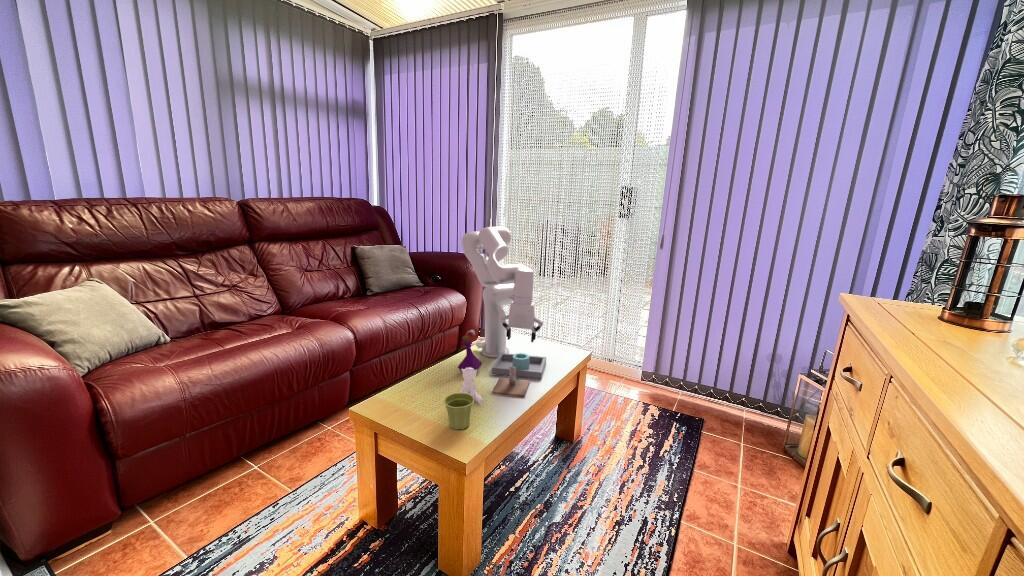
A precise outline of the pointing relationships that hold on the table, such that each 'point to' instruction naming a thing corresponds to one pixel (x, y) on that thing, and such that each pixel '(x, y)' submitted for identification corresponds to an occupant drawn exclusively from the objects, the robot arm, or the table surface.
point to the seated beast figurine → (470, 384)
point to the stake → (511, 385)
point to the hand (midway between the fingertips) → (520, 339)
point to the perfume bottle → (469, 355)
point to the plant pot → (459, 409)
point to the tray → (534, 371)
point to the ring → (521, 361)
